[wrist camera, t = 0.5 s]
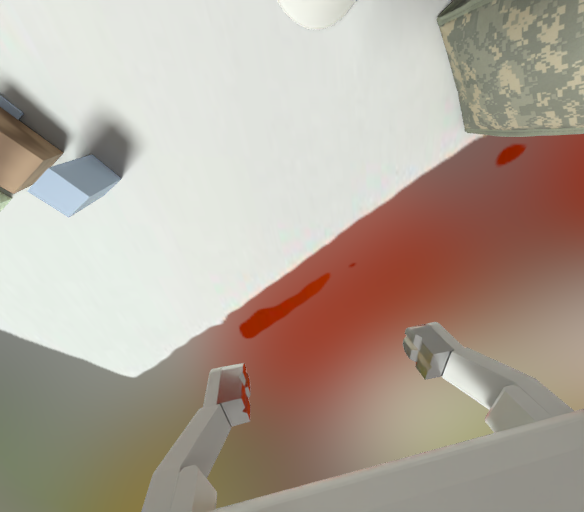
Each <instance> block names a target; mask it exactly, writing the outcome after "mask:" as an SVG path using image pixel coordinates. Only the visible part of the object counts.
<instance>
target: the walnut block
mask: <svg viewBox="0 0 584 512" xmlns="http://www.w3.org/2000/svg"><path fill="white" fill-rule="evenodd" d="M62 154H63V152H62V151H60V150H59V149H58V148H56V147H55V146H53V145H52V144H51V143H49V142H48V141H47V140H45V139H44V138H42V137H41V136H40V135H38V134H37V133H36V132H34V131H33V130H31V129H30V128H29V127H27V126H26V125H25V124H23V123H22V122H20V121H19V120H18V119H16V118H15V117H14V116H12V115H11V114H9V113H8V112H7V111H5V110H4V109H2V108H1V107H0V187H2V188H4V189H6V190H7V191H9V192H11V193H13V194H15V193H17V192H19V191H21V190H23V189H25V188H27V187H29V186H31V185H33V184H34V183H35V182H36V181H37V180H38V179H39V178H40V177H41V175H42V174H43V173H44V172H45V171H46V170H47V169H48V168H49V167H51V166H52V165H53V164H54V163H55V162H56V161H57V159H58V158H59V157H60V156H61V155H62Z"/></svg>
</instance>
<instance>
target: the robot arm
mask: <svg viewBox="0 0 584 512" xmlns="http://www.w3.org/2000/svg"><path fill="white" fill-rule="evenodd" d="M277 1H278V3H279V5H280V6H281V8H282V9H283V11H284V12H285V13H286V14H287V15H288V16H289V18H291V19H292V20H293V21H294V22H295V23H297V24H298V25H300V26H302V27H304V28H308V29H312V30H320V29H325V28H328V27H330V26H332V25H334V24H336V23H337V22H338V21H340V20H341V19H342V18H343V17H344V16H345V15H346V14H347V12H348V11H349V10H350V8H351V7H352V6H353V4H354V3H355V2H356V1H357V0H277ZM405 334H406V335H407V336H406V337H405V339H404V340H403V347H404V350H405V352H406V354H407V356H408V357H409V358H410V359H411V360H413V361H415V362H416V368H417V369H418V371H419V372H420V373H421V375H422V376H423V377H424V379H431V378H436V377H440V376H442V378H444V379H445V380H447V381H448V382H450V383H451V384H453V385H454V386H456V387H457V388H458V389H460V390H461V391H463V392H464V393H466V394H467V395H469V396H470V397H472V398H473V399H475V400H476V401H477V402H479V403H480V404H482V405H483V406H485V407H486V408H488V409H489V412H488V414H487V415H486V417H485V422H486V423H487V424H488V425H489V427H490V428H491V429H492V430H493V431H494V433H493V434H489V435H486V436H482V437H478V438H475V439H471V440H467V441H463V442H460V443H456V444H453V445H449V446H445V447H442V448H438V449H434V450H431V451H427V452H424V453H420V454H416V455H412V456H409V457H405V458H401V459H398V460H394V461H391V462H387V463H383V464H380V465H376V466H372V467H369V468H365V469H361V470H357V471H354V472H350V473H347V474H343V475H339V476H335V477H332V478H328V479H325V480H321V481H317V482H313V483H310V484H306V485H302V486H299V487H295V488H291V489H288V490H284V491H280V492H277V493H273V494H270V495H266V496H262V497H259V498H255V499H251V500H248V501H244V502H241V503H236V504H233V505H229V506H225V507H222V508H218V509H216V498H217V492H216V490H215V489H214V488H213V486H212V485H211V484H210V482H209V481H208V480H207V477H208V474H209V473H210V471H211V468H212V466H213V464H214V462H215V460H216V458H217V456H218V454H219V452H220V450H221V448H222V446H223V444H224V442H225V439H226V438H227V436H228V433H229V431H230V429H231V426H235V425H239V424H242V423H246V422H250V402H249V399H248V398H249V396H250V394H251V390H250V388H251V387H250V379H249V375H248V373H247V372H246V366H245V363H242V364H237V365H231V366H226V367H221V368H216V369H212V370H211V371H210V374H209V379H208V384H207V390H206V394H205V400H204V405H203V408H200V409H199V410H198V412H197V413H196V414H195V416H194V417H193V418H192V420H191V421H190V423H189V424H188V425H187V427H186V428H185V430H184V431H183V432H182V434H181V435H180V437H179V438H178V439H177V441H176V442H175V444H174V445H173V446H172V448H171V449H170V451H169V452H168V454H167V455H166V456H165V458H164V459H163V461H162V462H161V463H160V465H159V466H158V468H157V469H156V470H155V472H154V473H153V476H152V479H151V482H150V485H149V489H148V492H147V495H146V498H145V502H144V505H143V508H142V511H141V512H584V409H581V410H577V411H574V410H573V409H571V408H570V407H569V406H568V405H566V404H565V403H564V402H563V401H562V400H561V399H559V398H558V397H557V396H556V395H555V394H553V393H552V392H550V390H548V389H547V388H546V387H545V386H543V385H542V384H541V383H540V382H539V381H538V380H536V379H535V378H533V377H531V376H529V375H527V374H525V373H522V372H520V371H518V370H516V369H514V368H511V367H509V366H507V365H505V364H503V363H500V362H498V361H496V360H494V359H492V358H490V357H487V356H485V355H483V354H481V353H479V352H476V351H474V350H472V349H470V348H464V347H463V346H462V345H461V344H460V343H459V342H458V341H457V340H456V339H455V338H454V337H453V336H452V335H451V334H450V333H448V332H447V331H446V330H445V329H444V328H443V327H442V326H441V325H440V324H439V323H437V322H433V323H429V324H422V325H418V326H414V327H409V328H407V329H406V331H405Z"/></svg>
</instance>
